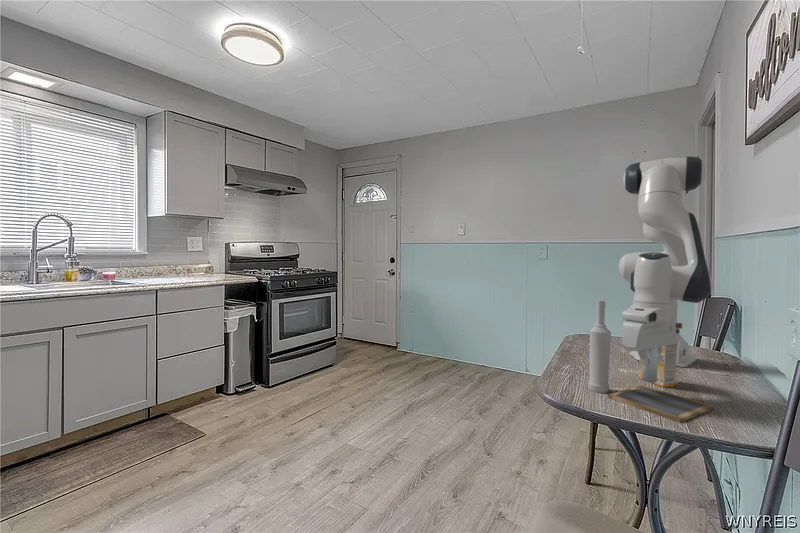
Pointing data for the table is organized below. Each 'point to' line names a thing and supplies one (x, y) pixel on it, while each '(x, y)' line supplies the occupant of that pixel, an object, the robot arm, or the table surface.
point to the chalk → (651, 366)
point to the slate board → (661, 403)
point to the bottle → (599, 352)
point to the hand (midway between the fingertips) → (649, 363)
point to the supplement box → (665, 366)
